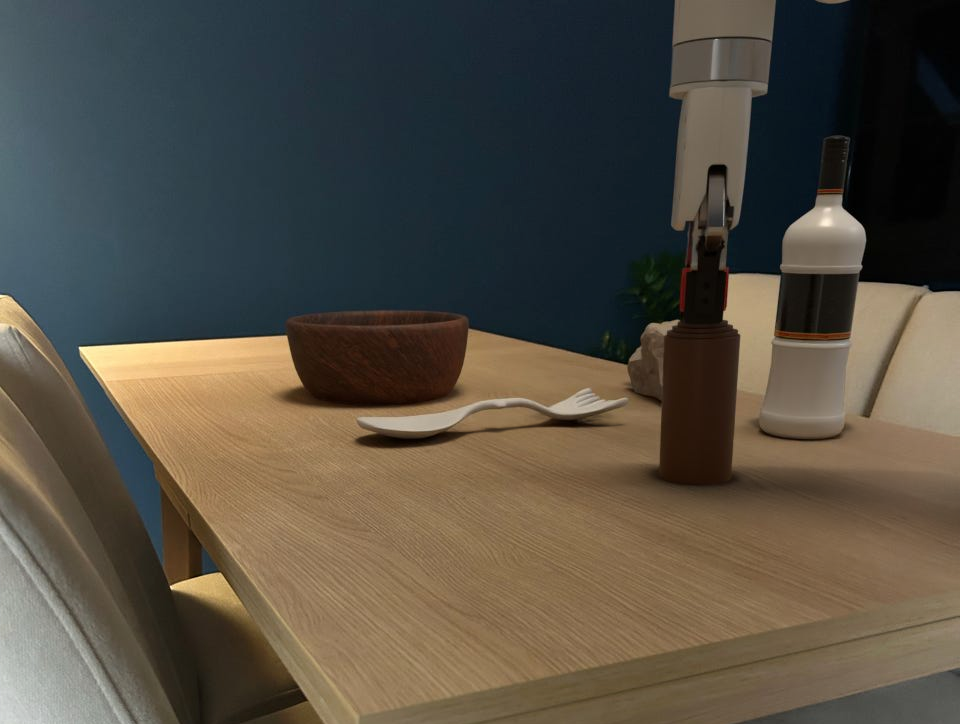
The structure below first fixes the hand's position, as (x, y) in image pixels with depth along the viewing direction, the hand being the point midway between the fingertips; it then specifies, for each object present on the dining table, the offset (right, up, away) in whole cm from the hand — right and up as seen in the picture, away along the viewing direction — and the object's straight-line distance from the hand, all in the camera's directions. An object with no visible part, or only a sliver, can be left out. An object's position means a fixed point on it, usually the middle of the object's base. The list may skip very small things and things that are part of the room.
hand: (700, 318), depth 83 cm
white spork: (-18, -3, +30) cm, 35 cm away
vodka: (+18, -4, +28) cm, 33 cm away
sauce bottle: (+1, -13, +6) cm, 14 cm away
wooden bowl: (-33, +7, +54) cm, 64 cm away
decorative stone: (+7, +5, +49) cm, 50 cm away
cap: (0, +1, 0) cm, 1 cm away
